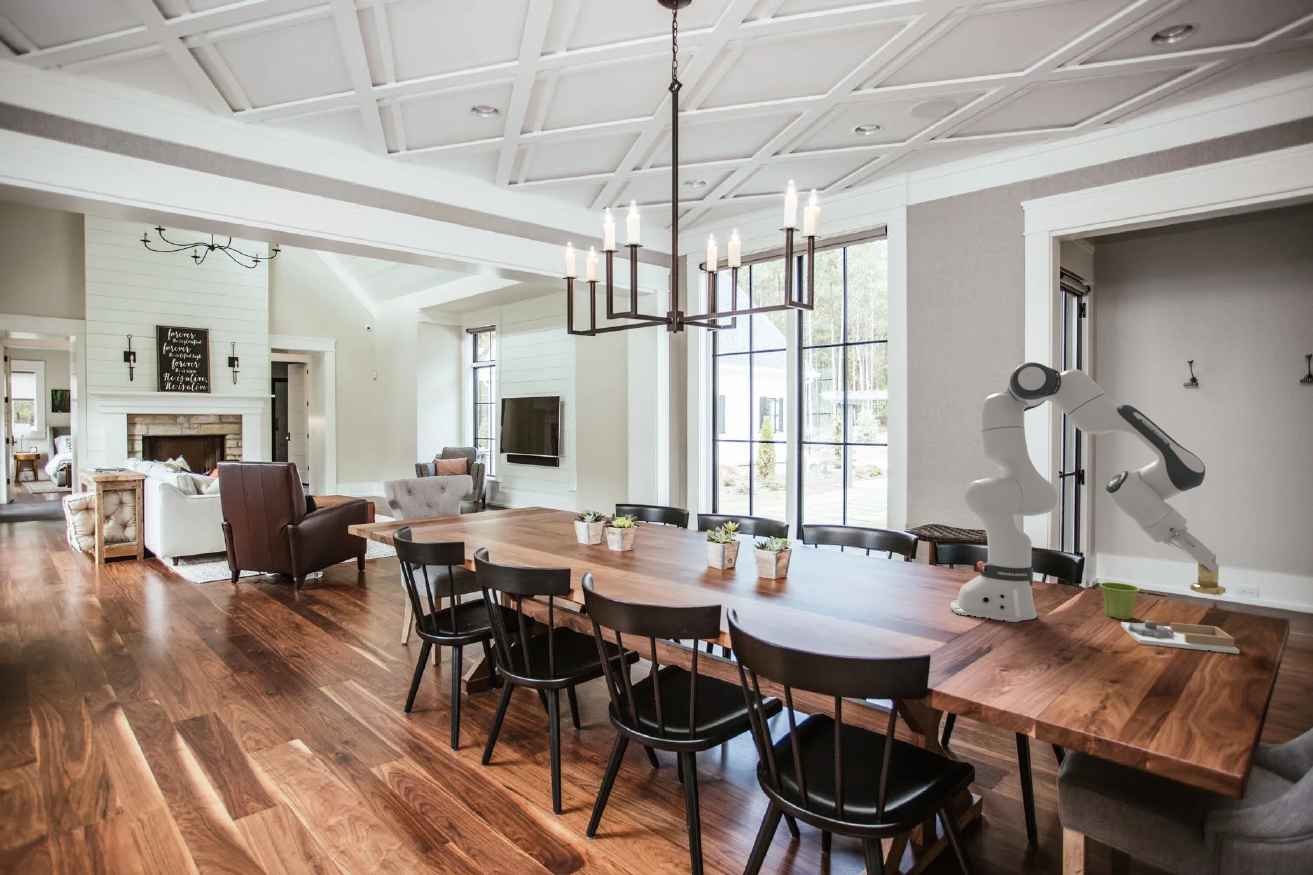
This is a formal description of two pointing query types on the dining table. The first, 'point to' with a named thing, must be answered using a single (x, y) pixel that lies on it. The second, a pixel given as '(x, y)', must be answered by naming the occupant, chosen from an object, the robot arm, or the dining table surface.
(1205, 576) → the brass gear shaft
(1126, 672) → the dining table surface
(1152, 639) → the gear board
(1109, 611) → the plant pot
